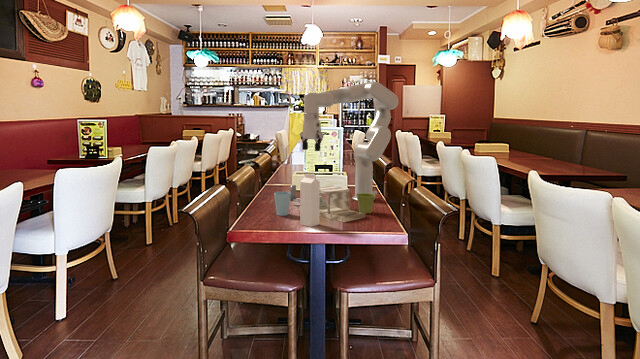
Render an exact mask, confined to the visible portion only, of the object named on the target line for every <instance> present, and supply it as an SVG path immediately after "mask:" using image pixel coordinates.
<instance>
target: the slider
mask: <svg viewBox="0 0 640 359" xmlns="http://www.w3.org/2000/svg"><path fill="white" fill-rule="evenodd" d="M289 187H290V191H289V192H290V193H291V194H290V202H294V203H298V204H300V199H298V198H297V185H295V184H292V185H290V186H289ZM327 205H328V200H322V201H320V202H319V207H323V206H327Z"/></svg>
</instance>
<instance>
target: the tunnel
mask: <svg viewBox="0 0 640 359" xmlns="http://www.w3.org/2000/svg"><path fill="white" fill-rule="evenodd" d="M350 191H351V190H350V188H347V187H341V186H336V185H328V186H322V187H321V186H320V194H324V195H327V206H323V207H319V217H321V218H326V219H329V220H334V221H337V222H342V223H347V222H351V221H356V220H360V219H365V218H366V214H365V213H362V212H359V211H356V210H353V209H352V210H351V209H350V200H351V199H350V198H351V196H350V194H351V192H350ZM297 211H298V212H300V205H299V206H297Z"/></svg>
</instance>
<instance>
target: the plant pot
mask: <svg viewBox="0 0 640 359" xmlns="http://www.w3.org/2000/svg"><path fill="white" fill-rule="evenodd" d="M376 195H377V194H375V195H374V194H369V193H360V194H356V196H357V199H358V201H357V205H358V212H362V213H365V215H366V214H371V213H372V212H373V206H374V201H375V200H374V198H375V199H376Z"/></svg>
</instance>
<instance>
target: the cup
mask: <svg viewBox="0 0 640 359" xmlns="http://www.w3.org/2000/svg"><path fill="white" fill-rule="evenodd" d="M290 194H291V193H290V191H275V192H274V193H273V195H274V202H275V211H276V215H277V216H281V217H285V216H289V211H290V210H289V209H290V202H291V201H290Z"/></svg>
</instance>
